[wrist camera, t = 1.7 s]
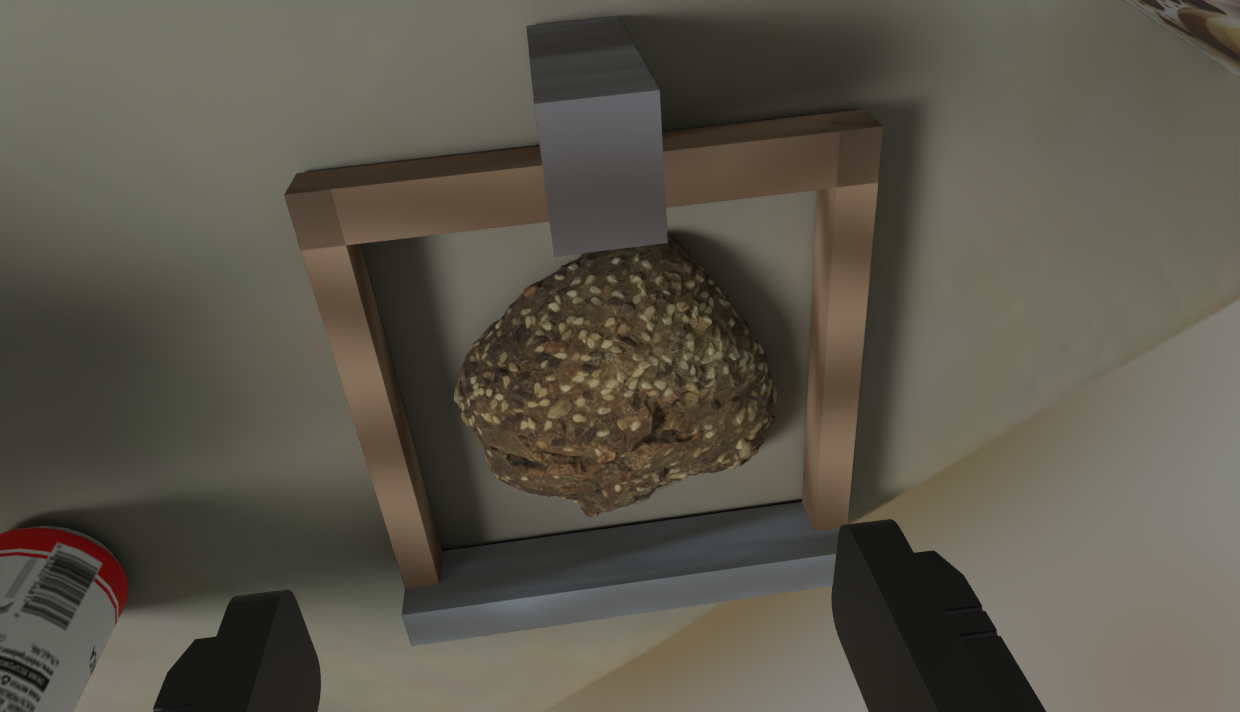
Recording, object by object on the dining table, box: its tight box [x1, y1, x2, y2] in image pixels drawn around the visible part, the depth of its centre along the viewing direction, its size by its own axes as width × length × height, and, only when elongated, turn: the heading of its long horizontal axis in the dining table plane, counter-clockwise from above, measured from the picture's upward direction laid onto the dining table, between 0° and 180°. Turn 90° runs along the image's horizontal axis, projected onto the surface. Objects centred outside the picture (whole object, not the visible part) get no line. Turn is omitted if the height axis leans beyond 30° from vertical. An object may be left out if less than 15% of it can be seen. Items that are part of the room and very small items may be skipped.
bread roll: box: [454, 237, 778, 517], centre depth 34 cm, size 13×12×5 cm
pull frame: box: [284, 16, 883, 646], centre depth 31 cm, size 24×20×9 cm
